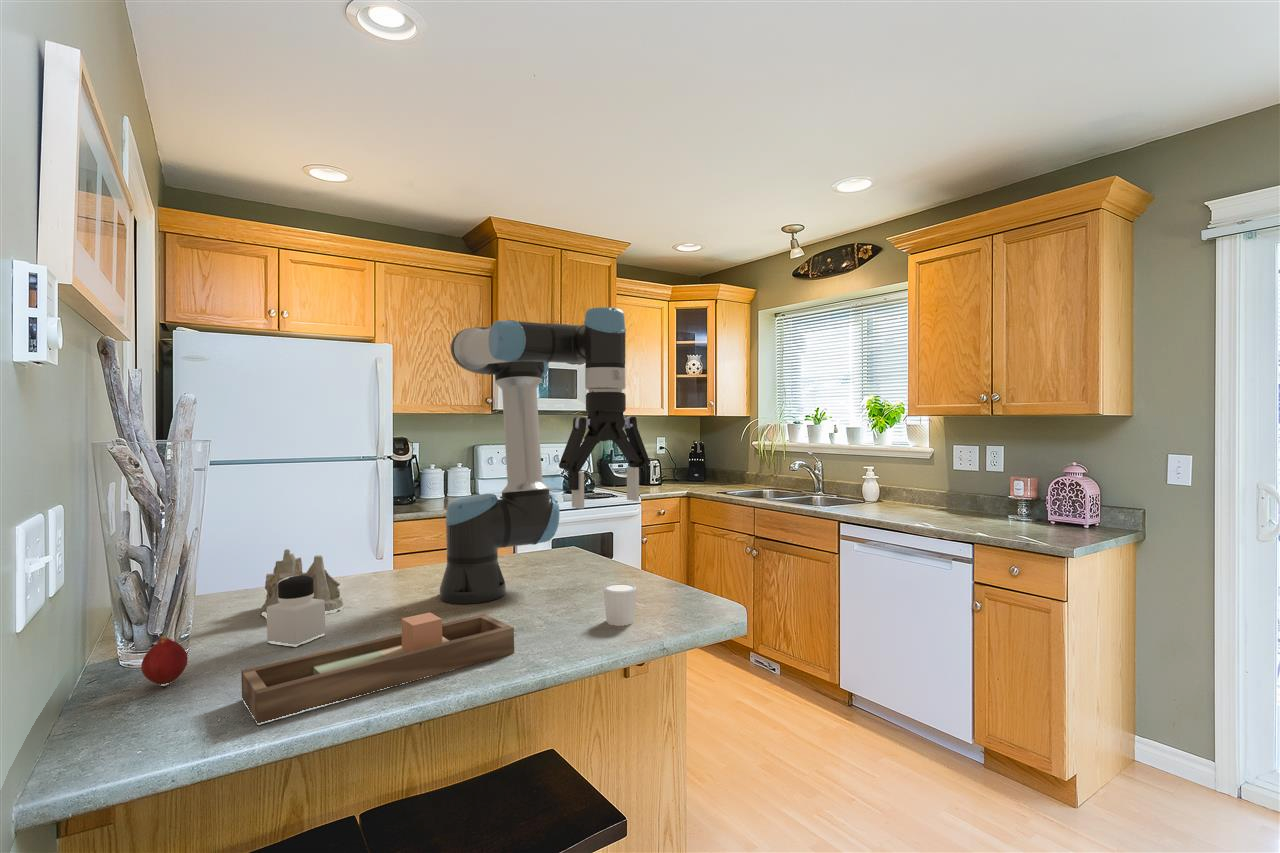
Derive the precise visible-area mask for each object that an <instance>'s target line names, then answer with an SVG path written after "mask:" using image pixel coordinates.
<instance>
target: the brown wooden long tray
mask: <svg viewBox="0 0 1280 853" xmlns="http://www.w3.org/2000/svg"><path fill="white" fill-rule="evenodd" d="M511 654H515V627H513V626H511V625H509V624H507V623H504V622H502V621H500V620H498V619H496V618H494V617H492V616H489V615H487V614H486V613H483V614H479V615H474V616H470V617H466V618H461V619H457V620H453V621H449V622H442V643H439V644H435V645H431V646H427V647H424V648H420V649H416V650H412V651H408V652H407V651H406V650H404V649H403V648H402V632H401V633H397V634H393V635H389V636H383V637H379V638H375V639H371V640H366V641H362V642H358V643H353V644H350V645H346V646H341V647H337V648H332V649H327V650H325V651H318V652H314V653H311V654H307V655H306V654H305V655H302V656H298V657H294V658H288V659H285V660H281V661H276V662H272V663H269V664H264V665H259V666H254V667H250V668H246V669H242V670H241V673H240V674H241V678H240V679H241V699H242V698H243V700H244V701H245V703H246V705H247V706H248V708H249V710H250V712H251V713H252V715H253V716H254V718H255V720H256V721H257V723H261V722H265V721H268V720H272V719H276V718H279V717H282V716H286V715H289V714H293V713H297V712H300V711H302V710H306V709H309V708H313V707H317V706H321V705H325V704H329V703H333V702H336V701H341V700H344V699H349V698H352V697H356V696H359V695H364V694H367V693H371V692H373V691H377V690H380V689H384V688H387V687H391V686H395V685H400V684H402V683H406V682H410V681H413V680H417V679H420V678H424V677H427V676H431V675H435V674H438V675H440V674H439V673H442V674H444V673H443V672H445V673H447V672H446V671H449V672H451V671H450V670H452V671H454V670H453V669H456V670H459V669H462V668H461V667H463V668H465V667H464V666H466V667H469V666H468V665H470V666H473V665H477V664H480V663H483V661H484V662H486V661H490V659H491V660H493V659H497V657H498V658H501V657H504V656H508V655H511ZM476 663H477V664H476ZM472 664H473V665H472ZM458 668H459V669H458ZM435 676H436V675H435ZM431 677H432V676H431ZM424 679H425V678H424ZM400 686H401V685H400Z"/></svg>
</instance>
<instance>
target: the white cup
mask: <svg viewBox="0 0 1280 853" xmlns="http://www.w3.org/2000/svg"><path fill="white" fill-rule="evenodd" d="M602 590H603V598H604V607H605V617H606V623H607V624H608V625H609V626H613V625H615V627H621V626H622V627H624V625H626V626H630V625H632V624H634V623H635V614H636V612H635V611H636V602H637V601H636V600H637V586H636V585H634V584H629V583H628V584H627V583H615V584H608V585H606V586H604V587H603V589H602ZM633 622H634V623H633ZM629 624H630V625H629Z"/></svg>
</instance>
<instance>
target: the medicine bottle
mask: <svg viewBox="0 0 1280 853" xmlns="http://www.w3.org/2000/svg"><path fill="white" fill-rule="evenodd" d="M313 597H314V581H313V578H312V577H310V576H306V575H298V576H290V577H286V578H284V579H282V580H280V581H279V582H278V602H280V603H277V604H274V605H271V606H268V607H267V619H266V634H267V635H266V636H267V638H266V639H267V640H268V641H275V642H281V643H288V644H294V645H295V644H299V643H301V642H303V641H306V640H308V639H311V638H313V637H316V636H318V635H321V634H323V633H325V634H326V615H325V601H324V600H322V599H312V598H313ZM267 640H266V641H267Z"/></svg>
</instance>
